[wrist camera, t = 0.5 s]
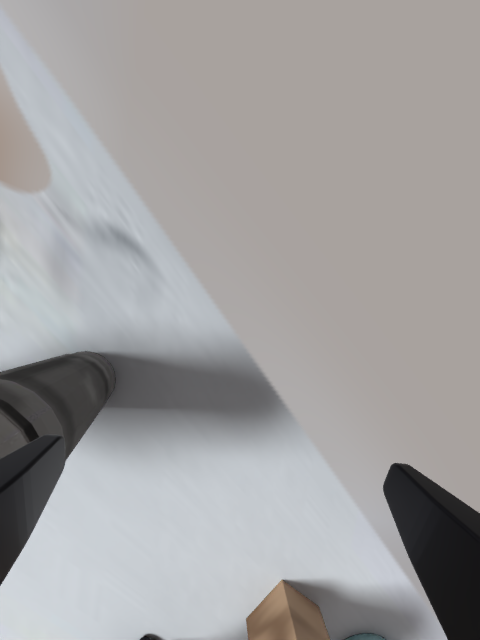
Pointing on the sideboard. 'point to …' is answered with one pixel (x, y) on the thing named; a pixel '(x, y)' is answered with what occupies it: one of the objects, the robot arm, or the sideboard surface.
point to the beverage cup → (53, 399)
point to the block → (286, 617)
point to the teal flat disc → (366, 637)
